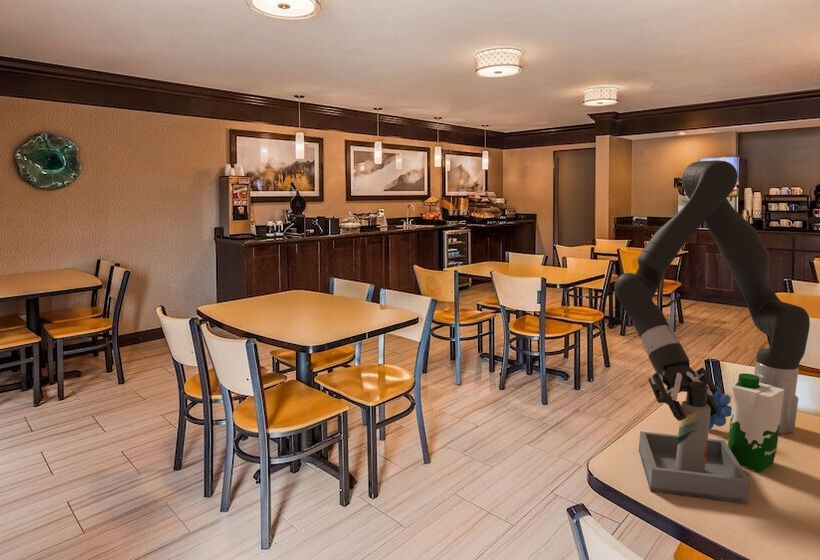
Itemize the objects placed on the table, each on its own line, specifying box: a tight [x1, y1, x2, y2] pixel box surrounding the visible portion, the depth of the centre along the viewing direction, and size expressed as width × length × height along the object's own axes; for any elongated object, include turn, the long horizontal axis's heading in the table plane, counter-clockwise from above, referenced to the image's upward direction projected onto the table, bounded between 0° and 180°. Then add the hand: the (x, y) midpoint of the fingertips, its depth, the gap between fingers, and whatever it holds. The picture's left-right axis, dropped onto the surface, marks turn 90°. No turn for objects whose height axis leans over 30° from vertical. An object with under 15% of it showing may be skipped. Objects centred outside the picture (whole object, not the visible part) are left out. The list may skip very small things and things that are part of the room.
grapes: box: [708, 385, 732, 430], centre depth 142 cm, size 12×7×12 cm, turn 42°
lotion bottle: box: [676, 381, 711, 473], centre depth 118 cm, size 6×6×20 cm
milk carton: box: [727, 373, 784, 473], centre depth 123 cm, size 9×9×20 cm
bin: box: [638, 430, 751, 505], centre depth 119 cm, size 18×18×5 cm
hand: (698, 416), depth 116 cm, fingers open, 8 cm apart
